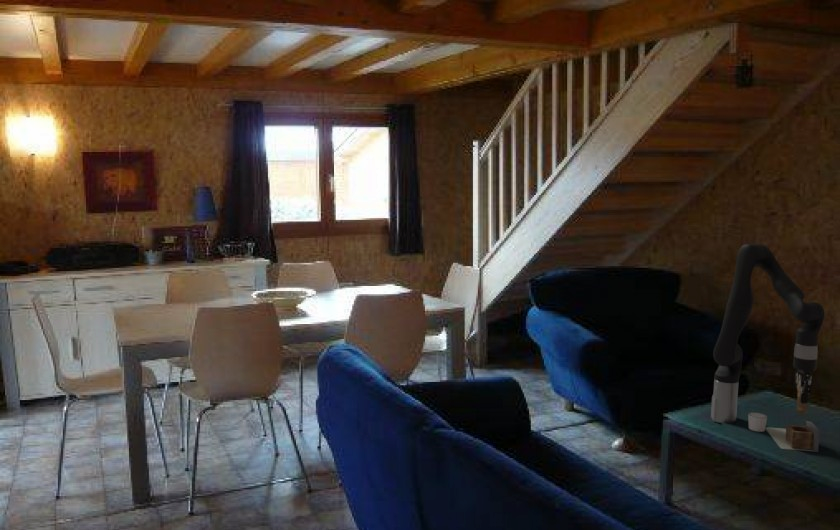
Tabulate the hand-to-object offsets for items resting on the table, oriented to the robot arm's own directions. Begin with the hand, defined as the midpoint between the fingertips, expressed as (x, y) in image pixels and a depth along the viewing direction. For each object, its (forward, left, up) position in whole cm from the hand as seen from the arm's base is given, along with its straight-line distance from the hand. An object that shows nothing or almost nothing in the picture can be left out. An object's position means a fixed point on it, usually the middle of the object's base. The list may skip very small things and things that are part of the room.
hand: (802, 401), depth 255 cm
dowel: (0, 0, -4) cm, 4 cm away
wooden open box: (0, 0, -17) cm, 17 cm away
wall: (+4, 0, -17) cm, 17 cm away
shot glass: (-11, +15, -18) cm, 26 cm away
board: (-1, +6, -18) cm, 19 cm away
